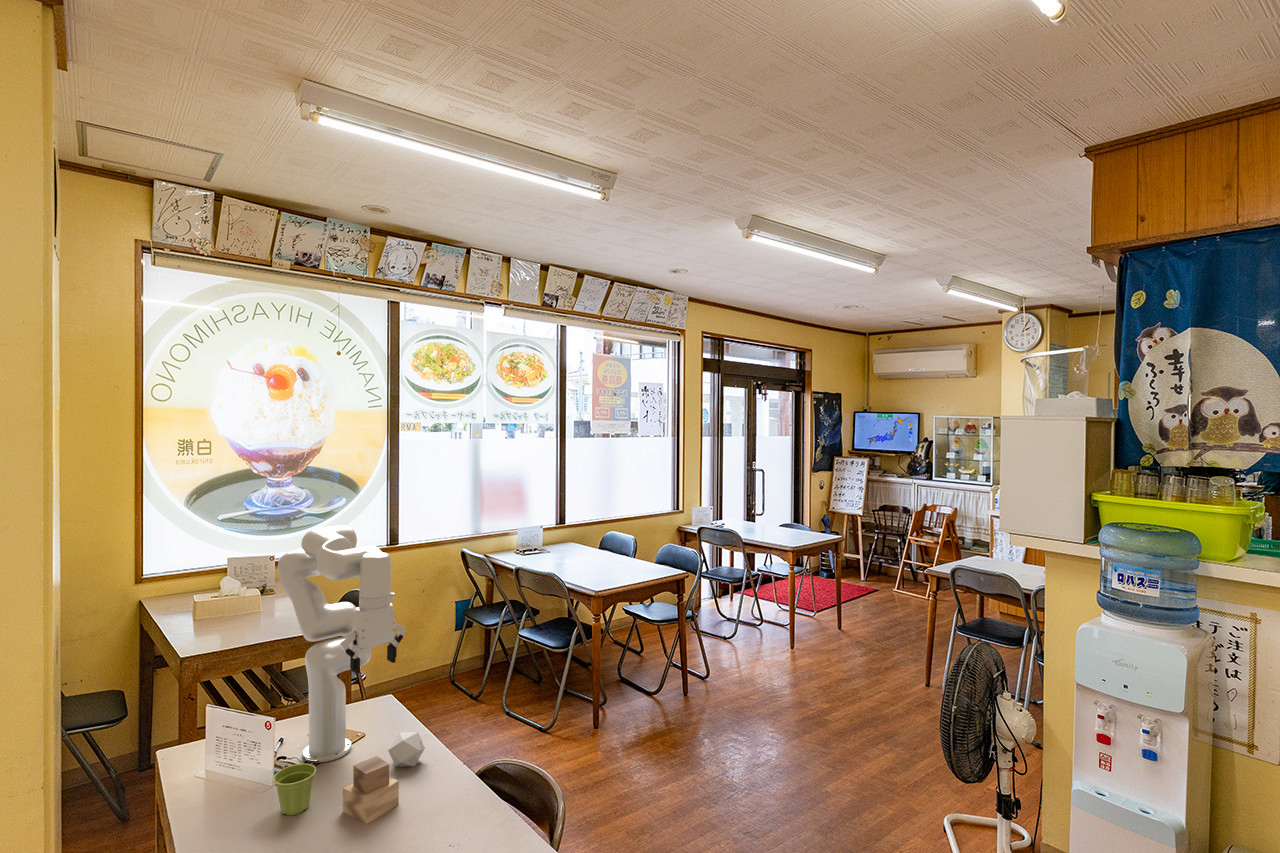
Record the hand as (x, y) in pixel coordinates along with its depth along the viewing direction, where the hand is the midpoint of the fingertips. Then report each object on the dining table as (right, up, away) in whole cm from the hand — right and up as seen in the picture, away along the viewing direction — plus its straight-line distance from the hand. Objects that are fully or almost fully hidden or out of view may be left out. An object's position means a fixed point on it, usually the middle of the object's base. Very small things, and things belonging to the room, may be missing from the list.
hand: (373, 666), depth 171 cm
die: (+4, -31, +12) cm, 34 cm away
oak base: (+3, -32, -9) cm, 33 cm away
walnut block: (+3, -26, -9) cm, 27 cm away
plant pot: (-16, -32, -9) cm, 36 cm away
